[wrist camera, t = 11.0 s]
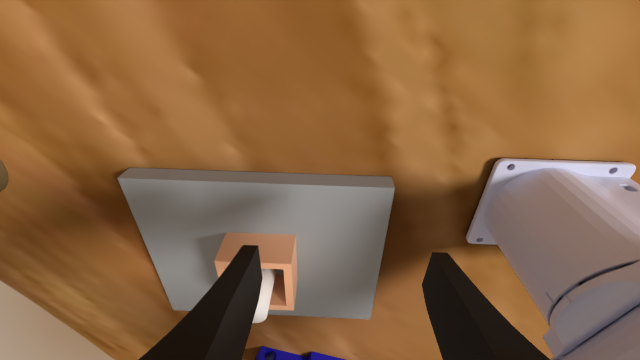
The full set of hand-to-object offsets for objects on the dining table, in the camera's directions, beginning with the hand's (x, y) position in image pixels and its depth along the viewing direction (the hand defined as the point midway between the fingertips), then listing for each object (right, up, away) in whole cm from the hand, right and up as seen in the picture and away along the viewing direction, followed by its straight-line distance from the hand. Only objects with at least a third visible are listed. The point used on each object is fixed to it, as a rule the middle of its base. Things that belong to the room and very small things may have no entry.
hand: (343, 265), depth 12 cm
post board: (-6, -2, +14) cm, 16 cm away
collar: (-6, -3, +13) cm, 14 cm away
